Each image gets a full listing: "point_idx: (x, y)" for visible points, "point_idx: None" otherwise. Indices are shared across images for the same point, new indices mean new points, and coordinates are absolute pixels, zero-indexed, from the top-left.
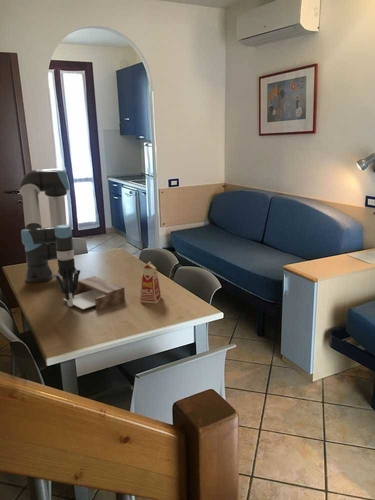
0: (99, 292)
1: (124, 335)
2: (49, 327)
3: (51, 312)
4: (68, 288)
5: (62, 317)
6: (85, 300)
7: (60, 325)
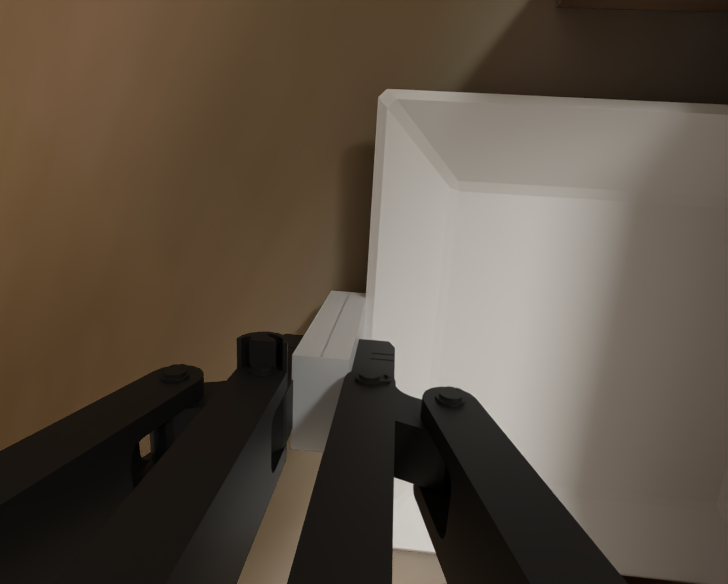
0: None
1: None
2: None
3: (141, 264)
4: (256, 521)
5: None
6: (579, 310)
7: None
